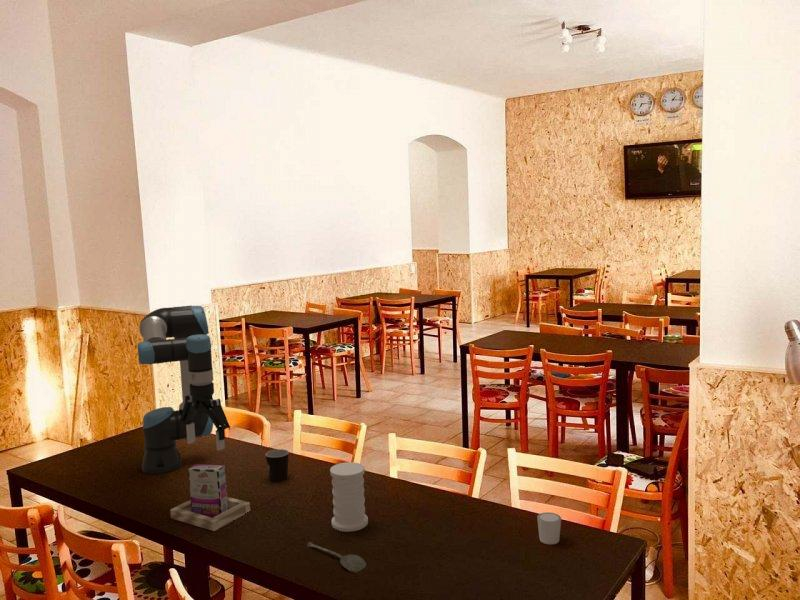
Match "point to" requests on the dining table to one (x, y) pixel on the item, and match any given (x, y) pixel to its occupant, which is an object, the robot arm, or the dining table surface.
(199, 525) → the grey rectangular frame
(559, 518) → the shot glass
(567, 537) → the dining table surface
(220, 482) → the candy bar box
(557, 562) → the dining table surface
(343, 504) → the decorative container
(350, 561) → the soupspoon
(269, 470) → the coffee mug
